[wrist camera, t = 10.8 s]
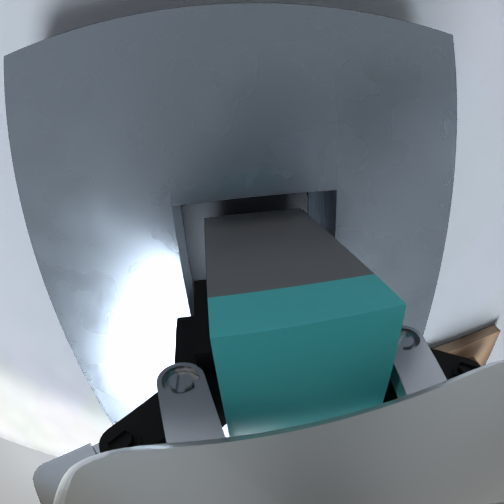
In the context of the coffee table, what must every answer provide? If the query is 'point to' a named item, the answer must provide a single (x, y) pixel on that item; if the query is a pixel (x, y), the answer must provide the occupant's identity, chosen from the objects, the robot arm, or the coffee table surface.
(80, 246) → the port
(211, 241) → the plug
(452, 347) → the brown holder base
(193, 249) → the coffee table surface
